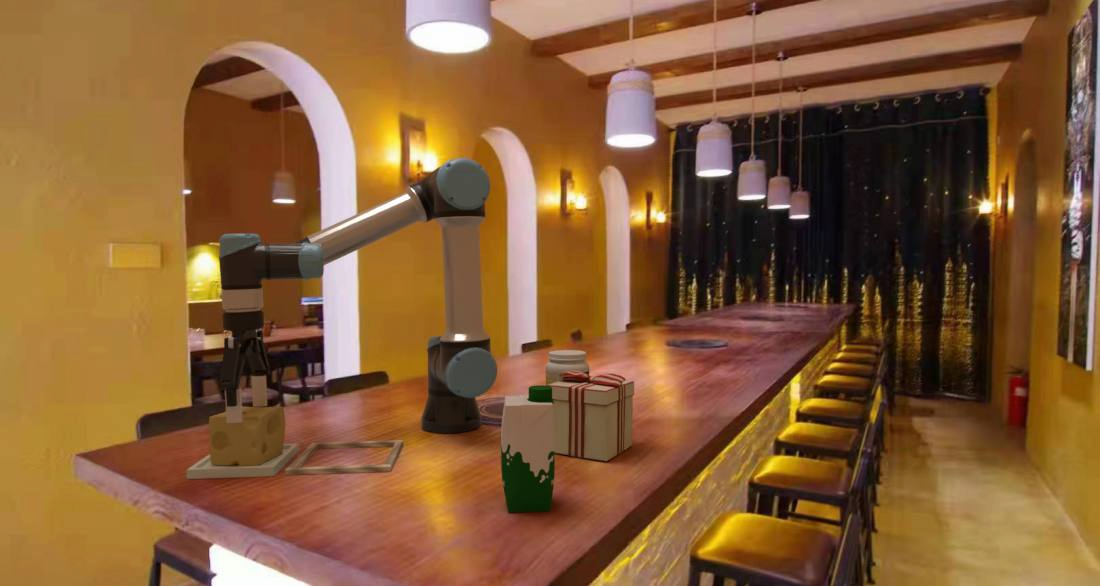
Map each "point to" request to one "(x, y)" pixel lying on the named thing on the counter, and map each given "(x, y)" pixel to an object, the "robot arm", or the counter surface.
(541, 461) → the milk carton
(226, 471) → the plate
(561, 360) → the supplement tub
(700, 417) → the counter surface
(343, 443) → the wooden square frame
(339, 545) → the counter surface
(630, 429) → the gift box
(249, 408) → the cheese
